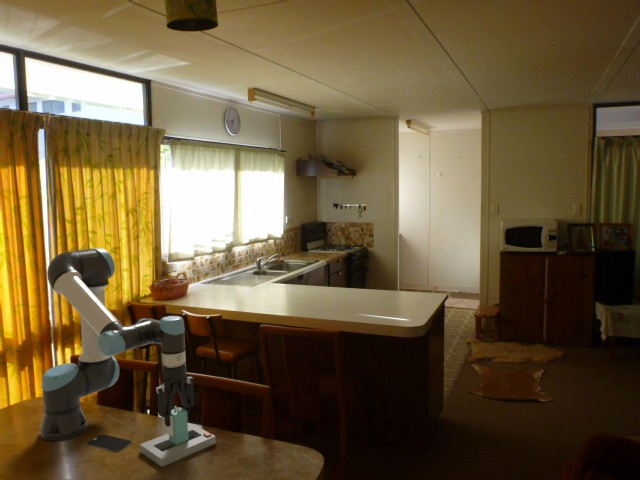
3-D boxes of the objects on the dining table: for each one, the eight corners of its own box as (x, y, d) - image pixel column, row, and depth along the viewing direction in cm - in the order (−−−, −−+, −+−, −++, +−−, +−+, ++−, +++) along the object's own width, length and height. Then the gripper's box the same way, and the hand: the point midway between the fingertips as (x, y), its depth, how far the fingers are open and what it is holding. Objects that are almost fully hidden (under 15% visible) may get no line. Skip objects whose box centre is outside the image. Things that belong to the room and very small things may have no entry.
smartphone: (102, 433, 187) (134, 441, 181) (102, 435, 187) (134, 443, 181) (84, 443, 180) (117, 451, 174) (84, 445, 180) (117, 453, 174)
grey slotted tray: (140, 452, 174) (139, 442, 174) (192, 431, 188) (192, 422, 188) (162, 467, 164) (161, 457, 164) (215, 444, 179) (215, 434, 178)
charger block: (169, 440, 176) (167, 407, 174) (181, 435, 179) (179, 403, 178) (176, 444, 172) (174, 411, 171) (188, 439, 176) (186, 406, 175)
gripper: (155, 373, 164) (159, 445, 167) (203, 359, 177) (206, 426, 179) (143, 368, 169) (147, 437, 172) (191, 354, 182) (194, 419, 184)
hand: (177, 431), depth 176 cm, fingers closed on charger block, 4 cm apart
